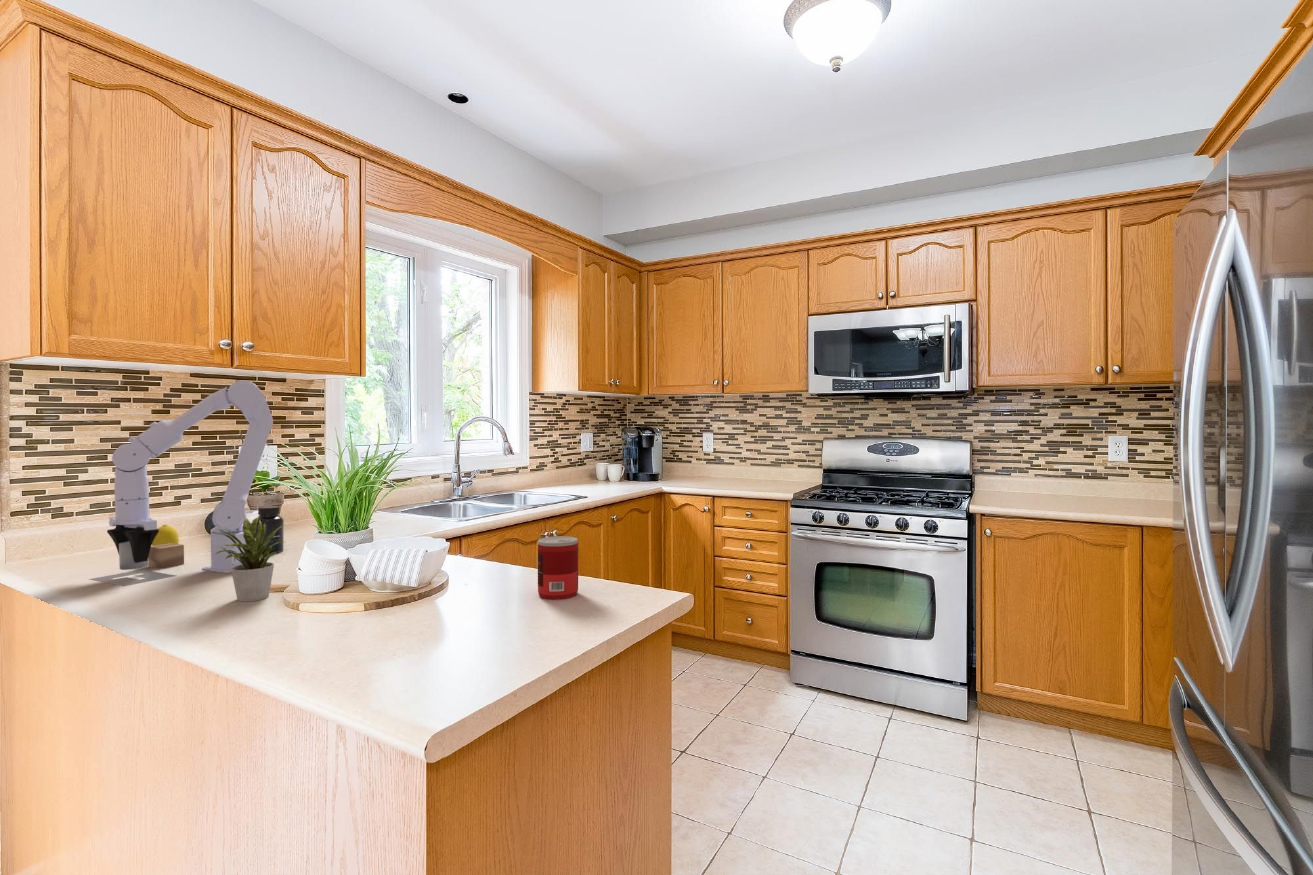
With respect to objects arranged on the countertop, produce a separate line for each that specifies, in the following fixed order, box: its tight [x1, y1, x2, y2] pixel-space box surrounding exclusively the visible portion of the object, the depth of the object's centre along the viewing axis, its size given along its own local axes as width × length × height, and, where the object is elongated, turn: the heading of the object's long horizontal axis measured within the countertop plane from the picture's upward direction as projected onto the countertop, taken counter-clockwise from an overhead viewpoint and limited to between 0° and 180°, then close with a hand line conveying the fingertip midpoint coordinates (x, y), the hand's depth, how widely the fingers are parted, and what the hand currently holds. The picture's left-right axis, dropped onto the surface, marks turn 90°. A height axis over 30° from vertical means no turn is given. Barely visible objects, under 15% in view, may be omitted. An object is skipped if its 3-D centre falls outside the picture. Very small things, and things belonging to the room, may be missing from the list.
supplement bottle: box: [255, 505, 285, 555], centre depth 166 cm, size 7×7×12 cm
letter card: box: [88, 569, 177, 587], centre depth 137 cm, size 14×10×1 cm
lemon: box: [151, 524, 180, 546], centre depth 161 cm, size 6×6×8 cm
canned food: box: [537, 535, 579, 600], centre depth 124 cm, size 8×8×11 cm
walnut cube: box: [147, 543, 185, 569], centre depth 149 cm, size 5×5×5 cm
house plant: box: [210, 515, 287, 602], centre depth 122 cm, size 14×14×16 cm
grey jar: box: [118, 541, 148, 571], centre depth 137 cm, size 5×5×6 cm
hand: (133, 560), depth 137 cm, fingers closed on grey jar, 5 cm apart
